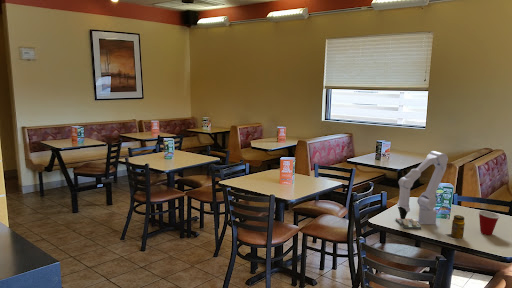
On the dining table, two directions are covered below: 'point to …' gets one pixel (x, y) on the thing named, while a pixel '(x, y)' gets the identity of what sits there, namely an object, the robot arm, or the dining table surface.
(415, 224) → the breaker
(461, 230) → the condiment
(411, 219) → the breaker panel
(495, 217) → the plastic cup
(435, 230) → the dining table surface
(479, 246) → the dining table surface
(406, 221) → the breaker
